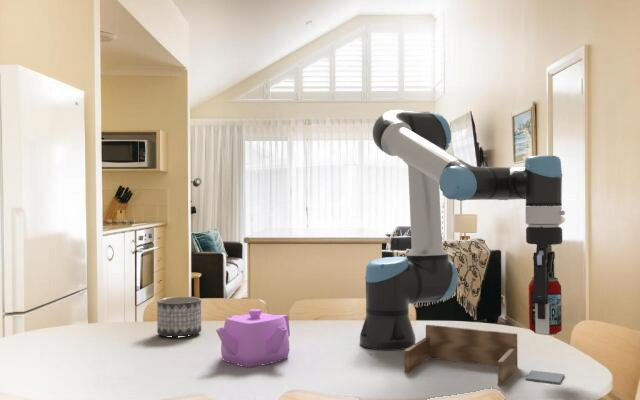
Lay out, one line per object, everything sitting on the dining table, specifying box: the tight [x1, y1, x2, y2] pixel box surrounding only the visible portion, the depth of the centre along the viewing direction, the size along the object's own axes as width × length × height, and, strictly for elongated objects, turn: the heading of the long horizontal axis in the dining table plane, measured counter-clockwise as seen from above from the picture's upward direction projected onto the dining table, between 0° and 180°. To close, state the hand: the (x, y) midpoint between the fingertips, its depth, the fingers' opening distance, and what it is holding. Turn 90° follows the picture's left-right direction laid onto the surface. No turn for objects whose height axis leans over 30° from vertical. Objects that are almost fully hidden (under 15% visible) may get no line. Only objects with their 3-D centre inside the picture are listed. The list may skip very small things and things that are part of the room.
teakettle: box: [215, 308, 291, 368], centre depth 153 cm, size 17×17×12 cm
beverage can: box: [528, 276, 563, 336], centre depth 135 cm, size 7×7×12 cm
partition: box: [403, 324, 518, 386], centre depth 142 cm, size 22×16×8 cm
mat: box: [525, 370, 565, 385], centre depth 135 cm, size 7×7×1 cm
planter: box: [156, 296, 202, 337], centre depth 181 cm, size 13×13×10 cm
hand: (545, 330), depth 135 cm, fingers closed on beverage can, 7 cm apart
